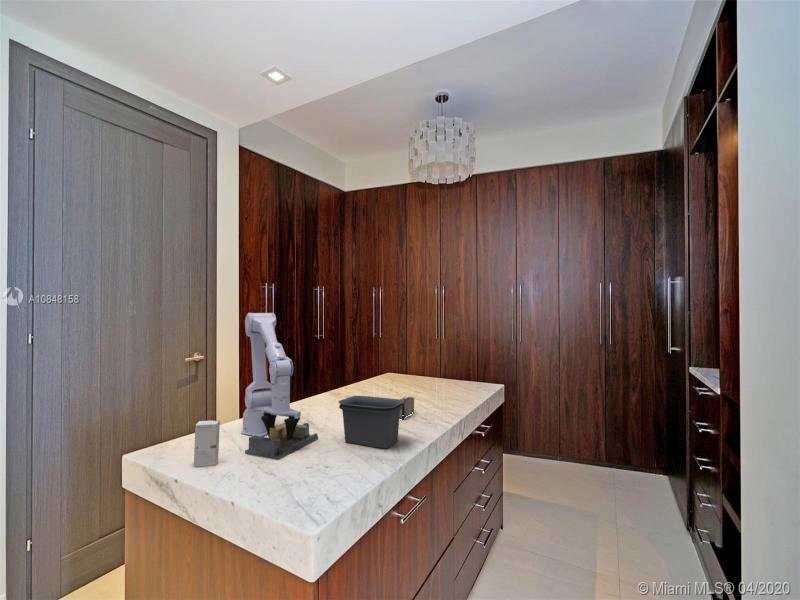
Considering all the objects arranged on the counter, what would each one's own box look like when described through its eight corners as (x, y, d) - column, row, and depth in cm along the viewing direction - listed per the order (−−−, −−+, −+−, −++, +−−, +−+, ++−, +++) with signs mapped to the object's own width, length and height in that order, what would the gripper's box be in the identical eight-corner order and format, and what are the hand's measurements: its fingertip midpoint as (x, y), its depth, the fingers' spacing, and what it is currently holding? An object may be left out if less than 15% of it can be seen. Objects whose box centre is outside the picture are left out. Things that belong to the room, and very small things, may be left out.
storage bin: (333, 444, 136) (334, 401, 137) (357, 431, 150) (357, 393, 151) (389, 453, 127) (390, 408, 128) (409, 439, 142) (409, 398, 142)
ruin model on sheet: (402, 421, 165) (402, 398, 165) (396, 420, 166) (396, 397, 167) (415, 415, 175) (415, 392, 175) (408, 414, 176) (408, 392, 176)
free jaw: (280, 436, 140) (280, 424, 140) (295, 429, 148) (295, 418, 148) (304, 440, 136) (304, 428, 136) (318, 433, 144) (318, 422, 144)
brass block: (269, 446, 130) (269, 428, 130) (283, 440, 137) (283, 422, 137) (278, 448, 129) (278, 429, 129) (292, 441, 135) (292, 423, 135)
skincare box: (193, 467, 116) (193, 425, 116) (197, 461, 120) (198, 420, 120) (216, 465, 117) (216, 423, 117) (219, 459, 122) (220, 419, 122)
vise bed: (244, 453, 127) (245, 437, 127) (287, 434, 146) (287, 420, 146) (278, 460, 122) (278, 442, 122) (317, 439, 141) (318, 424, 141)
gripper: (306, 395, 134) (305, 437, 133) (271, 392, 139) (271, 431, 139) (293, 400, 127) (292, 443, 127) (256, 396, 133) (256, 437, 132)
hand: (280, 437), depth 132 cm, fingers open, 7 cm apart
